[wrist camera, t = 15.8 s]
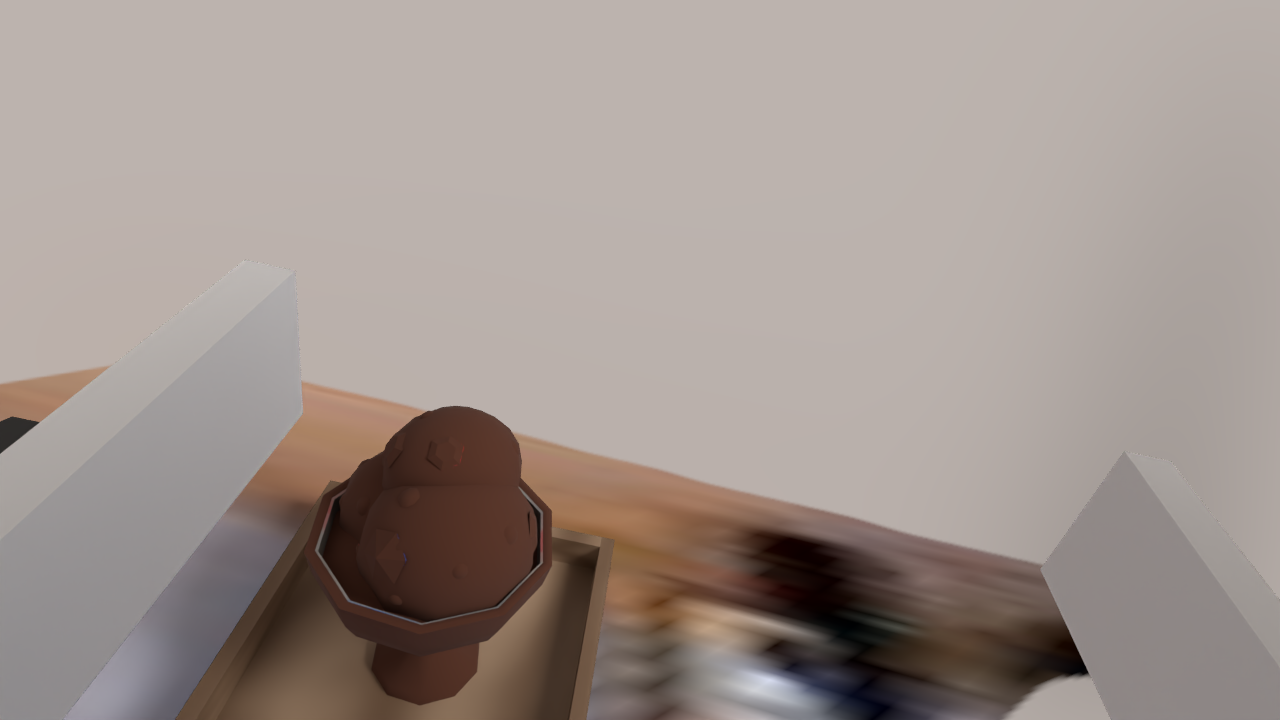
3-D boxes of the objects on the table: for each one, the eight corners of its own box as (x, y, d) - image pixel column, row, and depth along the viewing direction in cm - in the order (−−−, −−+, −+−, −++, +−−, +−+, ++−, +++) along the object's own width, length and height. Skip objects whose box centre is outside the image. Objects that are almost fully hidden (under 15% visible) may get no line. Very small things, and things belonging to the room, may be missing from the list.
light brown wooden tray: (605, 572, 48) (614, 539, 47) (556, 879, 33) (566, 847, 32) (331, 515, 48) (330, 480, 46) (156, 802, 33) (145, 765, 31)
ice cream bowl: (303, 598, 41) (288, 373, 33) (503, 559, 46) (533, 356, 38) (322, 788, 34) (309, 556, 26) (559, 717, 38) (611, 504, 30)
